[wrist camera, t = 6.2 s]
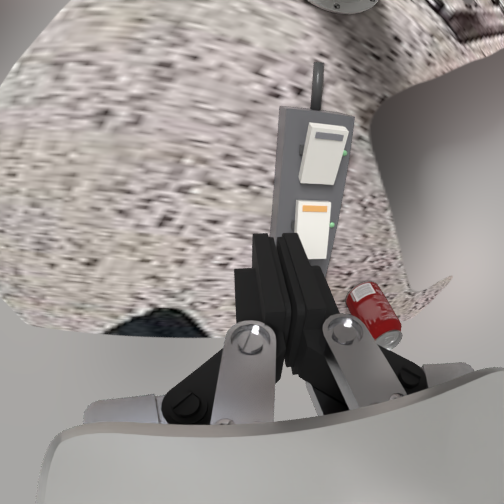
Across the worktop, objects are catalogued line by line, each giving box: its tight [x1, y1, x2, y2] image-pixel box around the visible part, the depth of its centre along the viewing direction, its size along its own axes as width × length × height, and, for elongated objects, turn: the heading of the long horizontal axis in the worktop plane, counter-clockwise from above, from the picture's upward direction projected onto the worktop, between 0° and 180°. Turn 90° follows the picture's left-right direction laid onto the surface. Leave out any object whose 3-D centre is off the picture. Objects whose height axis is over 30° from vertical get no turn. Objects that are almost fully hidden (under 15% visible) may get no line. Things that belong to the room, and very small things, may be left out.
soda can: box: [346, 281, 402, 350], centre depth 43 cm, size 7×7×12 cm
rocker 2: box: [294, 200, 331, 259], centre depth 33 cm, size 7×4×1 cm, turn 178°
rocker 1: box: [298, 122, 349, 185], centre depth 28 cm, size 7×4×1 cm, turn 177°
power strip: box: [270, 62, 355, 277], centre depth 35 cm, size 34×8×5 cm, turn 178°
